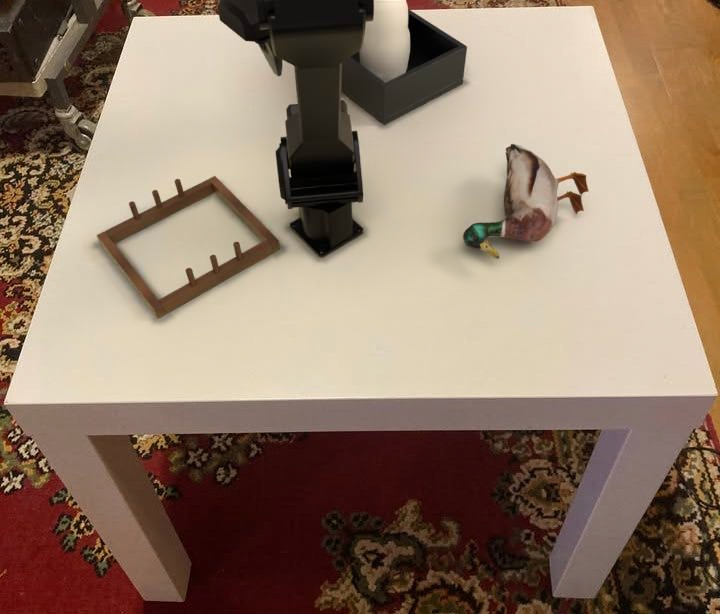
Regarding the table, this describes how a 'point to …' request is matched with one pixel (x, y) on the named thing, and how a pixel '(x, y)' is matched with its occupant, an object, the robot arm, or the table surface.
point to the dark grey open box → (408, 74)
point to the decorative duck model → (526, 201)
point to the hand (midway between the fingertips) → (309, 59)
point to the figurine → (387, 40)
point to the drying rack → (194, 285)
